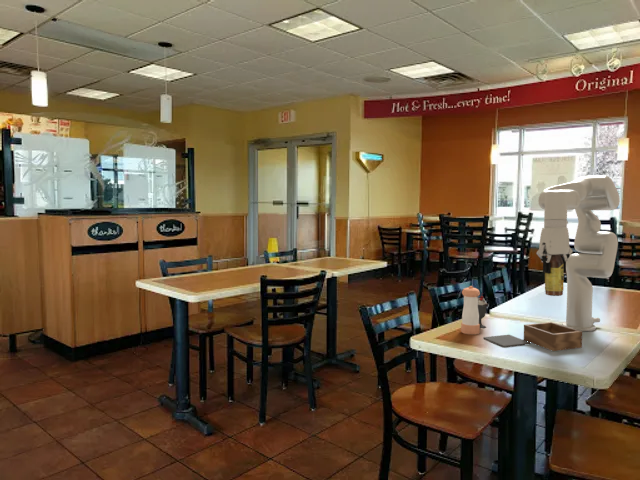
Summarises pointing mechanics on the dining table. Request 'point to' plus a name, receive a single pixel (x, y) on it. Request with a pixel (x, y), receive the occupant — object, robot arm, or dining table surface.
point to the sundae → (481, 309)
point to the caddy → (553, 336)
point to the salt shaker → (470, 311)
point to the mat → (506, 340)
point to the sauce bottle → (555, 277)
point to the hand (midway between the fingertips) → (554, 271)
